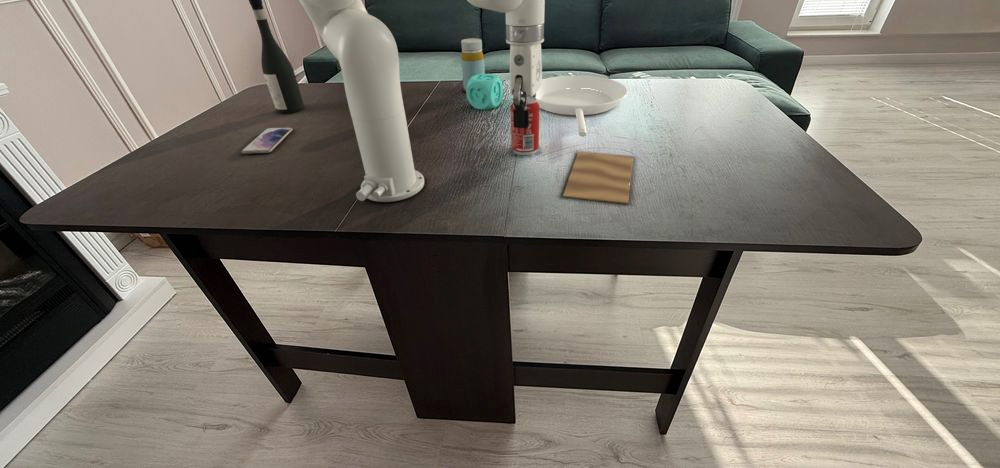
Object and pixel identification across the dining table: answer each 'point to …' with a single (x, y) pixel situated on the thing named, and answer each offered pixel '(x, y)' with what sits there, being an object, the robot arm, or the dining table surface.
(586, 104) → the pan
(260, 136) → the smartphone
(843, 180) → the dining table surface
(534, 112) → the beverage can
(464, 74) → the bottle
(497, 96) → the decorative dice
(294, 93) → the wine bottle
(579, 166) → the wooden trivet
